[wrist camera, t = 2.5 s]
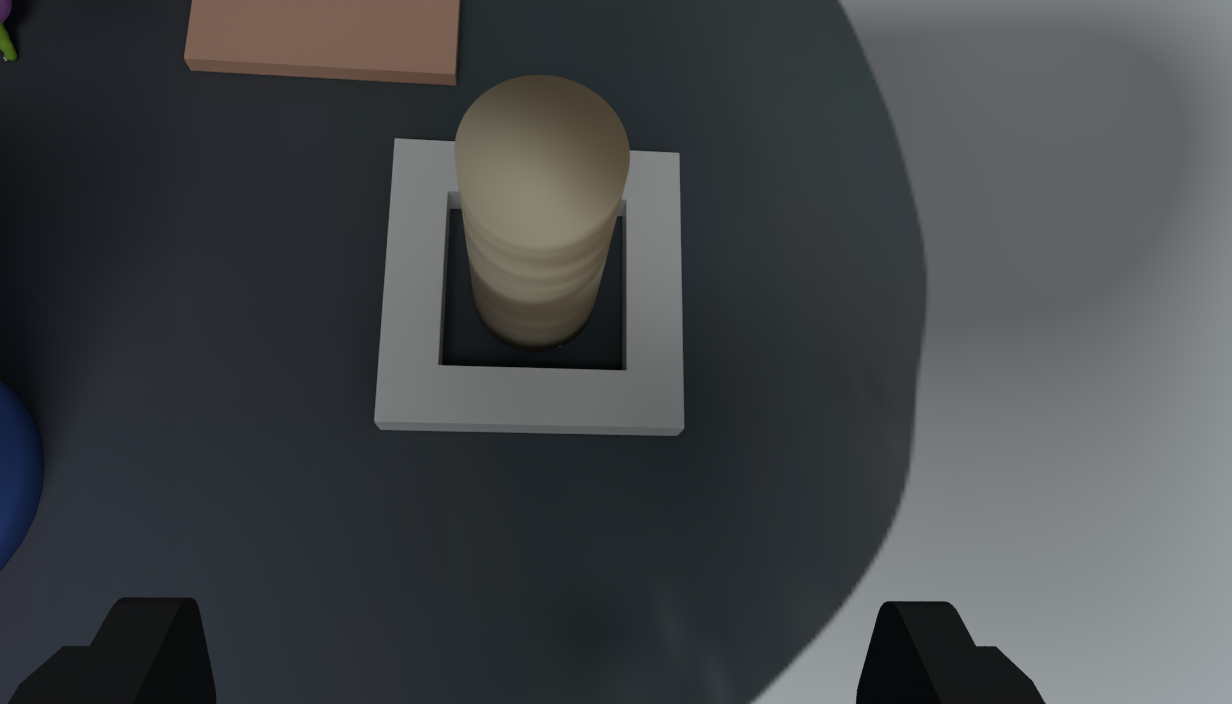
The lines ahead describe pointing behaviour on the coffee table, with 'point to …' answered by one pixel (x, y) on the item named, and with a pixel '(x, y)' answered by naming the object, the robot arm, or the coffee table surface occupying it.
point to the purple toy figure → (3, 3)
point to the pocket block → (529, 396)
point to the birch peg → (539, 205)
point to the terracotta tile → (327, 39)
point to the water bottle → (17, 472)
